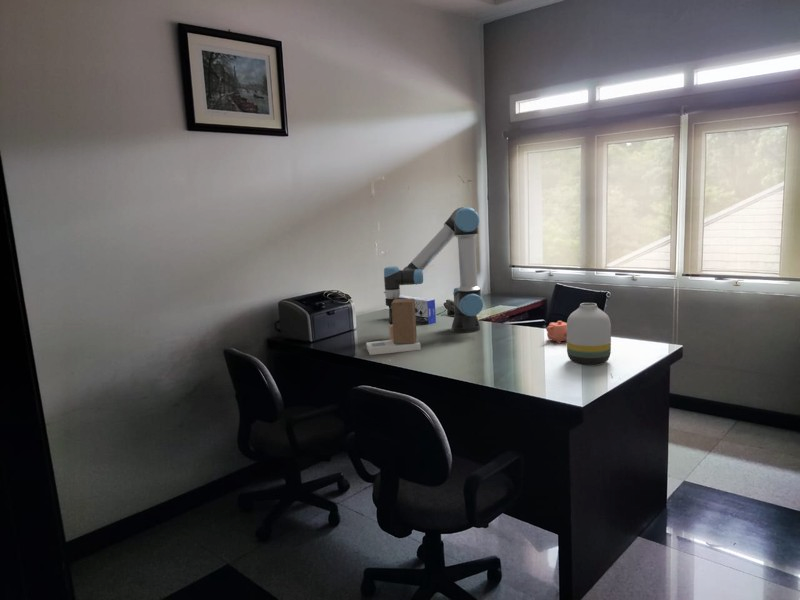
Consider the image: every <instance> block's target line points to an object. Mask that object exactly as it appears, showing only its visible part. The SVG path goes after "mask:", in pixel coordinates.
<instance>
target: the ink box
mask: <svg viewBox="0 0 800 600" xmlns="http://www.w3.org/2000/svg"><path fill="white" fill-rule="evenodd" d="M400 299H415V315H416V322H417V323H416V324H421V323H422V324H421V325H427V326H428V325H429V326H430V325H434V324H436V323H437V316H436V314H437V313H436V299H434V298H426V297H419V296H410V295H405V294H404V295H403V294H400Z"/></svg>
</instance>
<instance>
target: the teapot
mask: <svg viewBox="0 0 800 600" xmlns="http://www.w3.org/2000/svg"><path fill="white" fill-rule="evenodd" d="M545 330H546V332H547V339H548V340H550V341H551V342H556V343H557V344H561V343H562V341H565V342H566V343H567V322H565V321H562V320H557V322H554V321H553V322H549V324H548V326H547V327H546V329H545Z"/></svg>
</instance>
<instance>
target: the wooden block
mask: <svg viewBox="0 0 800 600" xmlns="http://www.w3.org/2000/svg"><path fill="white" fill-rule="evenodd" d="M391 306H392V322H393V338H394V344H414V343H415V341H416V340H417V339H418V337H417V323H416V315H415V299H394V300H393V302H392V303H391Z"/></svg>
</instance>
